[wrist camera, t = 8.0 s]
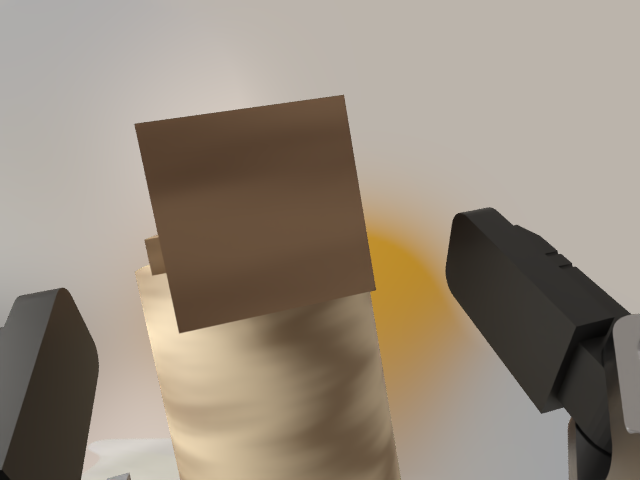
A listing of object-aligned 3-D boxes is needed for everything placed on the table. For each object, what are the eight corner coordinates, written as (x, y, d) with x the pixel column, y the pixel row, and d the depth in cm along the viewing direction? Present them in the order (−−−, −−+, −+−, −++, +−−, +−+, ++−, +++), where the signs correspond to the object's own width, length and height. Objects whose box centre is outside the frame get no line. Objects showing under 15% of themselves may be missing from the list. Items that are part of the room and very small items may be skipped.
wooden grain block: (375, 290, 9) (343, 94, 9) (179, 333, 9) (134, 123, 8) (274, 232, 31) (263, 173, 31) (215, 243, 30) (203, 183, 30)
